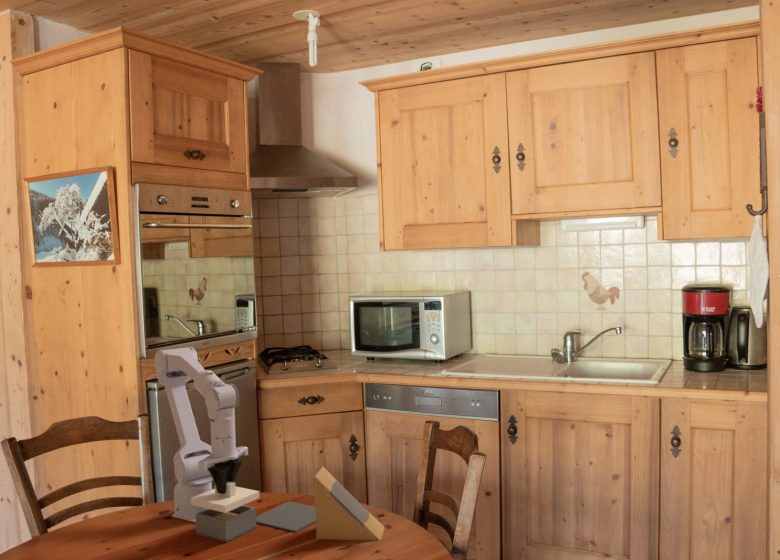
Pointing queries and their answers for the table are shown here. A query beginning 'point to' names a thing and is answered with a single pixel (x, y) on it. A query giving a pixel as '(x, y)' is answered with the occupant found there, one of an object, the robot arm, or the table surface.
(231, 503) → the lid
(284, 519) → the mat
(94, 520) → the table surface
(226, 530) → the storage box
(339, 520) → the sandwich container
